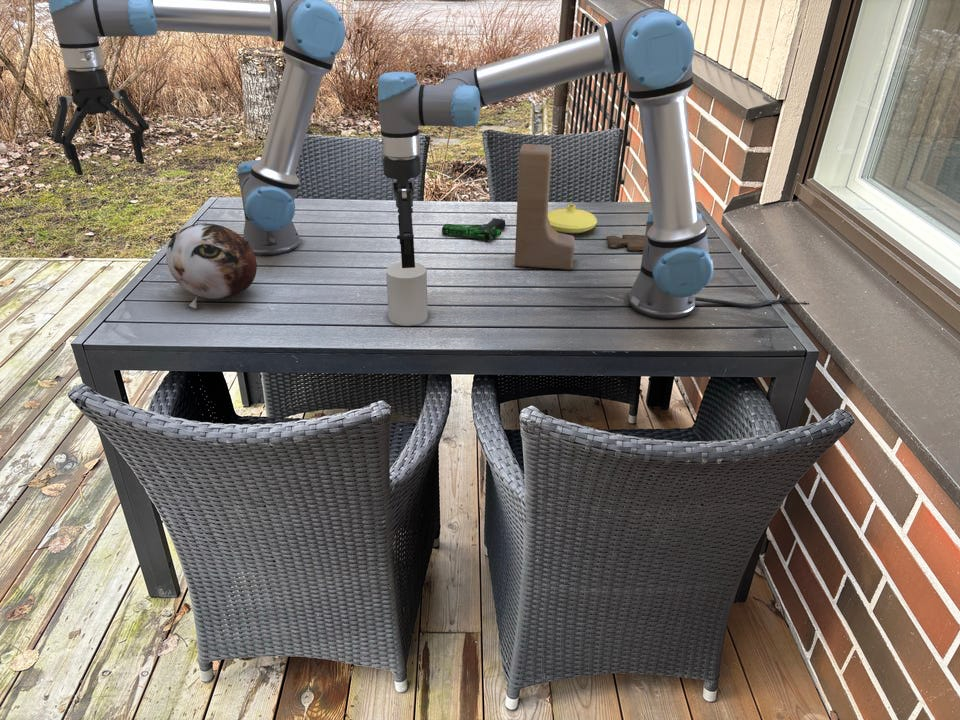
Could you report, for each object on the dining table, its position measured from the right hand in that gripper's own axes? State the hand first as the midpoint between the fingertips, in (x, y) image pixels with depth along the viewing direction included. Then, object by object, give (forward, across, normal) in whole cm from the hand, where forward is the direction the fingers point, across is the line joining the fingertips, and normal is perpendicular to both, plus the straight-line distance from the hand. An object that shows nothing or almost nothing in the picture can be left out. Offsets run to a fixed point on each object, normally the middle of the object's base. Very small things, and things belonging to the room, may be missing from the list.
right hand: (407, 254), depth 154 cm
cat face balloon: (+14, -15, -45) cm, 49 cm away
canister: (+15, 0, -1) cm, 15 cm away
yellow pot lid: (+16, -52, +49) cm, 73 cm away
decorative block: (+16, -27, +36) cm, 48 cm away
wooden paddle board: (+16, -36, +70) cm, 80 cm away
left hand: (-14, -27, -65) cm, 72 cm away
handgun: (+15, -52, +21) cm, 58 cm away
